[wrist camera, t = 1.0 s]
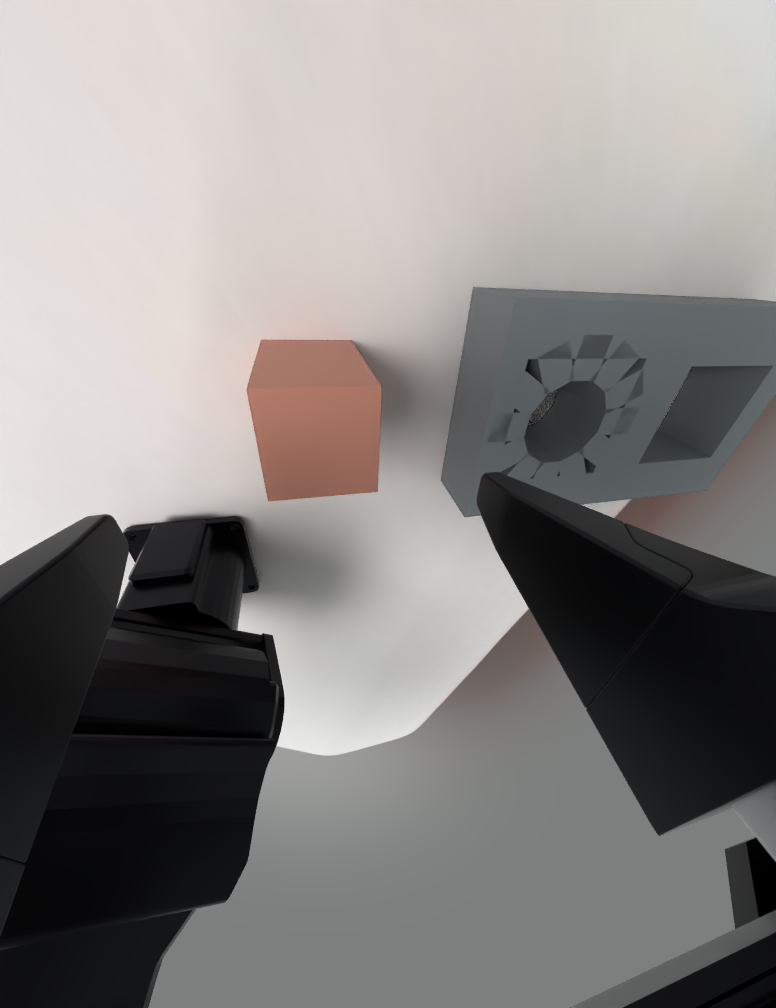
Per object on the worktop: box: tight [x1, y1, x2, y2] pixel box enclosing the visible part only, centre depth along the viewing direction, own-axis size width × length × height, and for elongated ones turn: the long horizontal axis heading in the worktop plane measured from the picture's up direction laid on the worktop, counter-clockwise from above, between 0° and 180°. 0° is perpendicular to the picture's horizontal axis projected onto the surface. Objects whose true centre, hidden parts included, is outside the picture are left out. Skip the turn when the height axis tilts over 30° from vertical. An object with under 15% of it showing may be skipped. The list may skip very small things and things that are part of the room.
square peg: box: [247, 340, 382, 501], centre depth 15 cm, size 4×4×7 cm
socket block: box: [441, 287, 776, 517], centre depth 20 cm, size 11×18×4 cm, turn 88°
